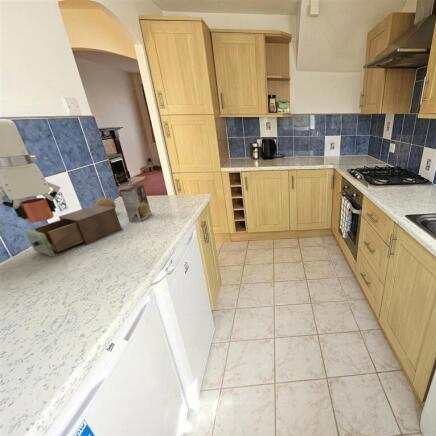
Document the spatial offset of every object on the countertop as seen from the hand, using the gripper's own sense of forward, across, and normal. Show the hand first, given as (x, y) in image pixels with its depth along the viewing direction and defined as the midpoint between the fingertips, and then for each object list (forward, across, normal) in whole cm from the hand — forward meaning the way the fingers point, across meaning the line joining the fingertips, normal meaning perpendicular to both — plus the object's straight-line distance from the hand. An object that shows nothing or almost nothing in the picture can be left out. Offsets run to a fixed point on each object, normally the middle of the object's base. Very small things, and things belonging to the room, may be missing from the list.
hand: (38, 214), depth 82 cm
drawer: (+16, -4, -8) cm, 19 cm away
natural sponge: (+18, -29, -29) cm, 45 cm away
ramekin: (+2, 0, 0) cm, 2 cm away
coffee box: (+17, -36, -11) cm, 42 cm away
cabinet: (+17, -16, -10) cm, 26 cm away
